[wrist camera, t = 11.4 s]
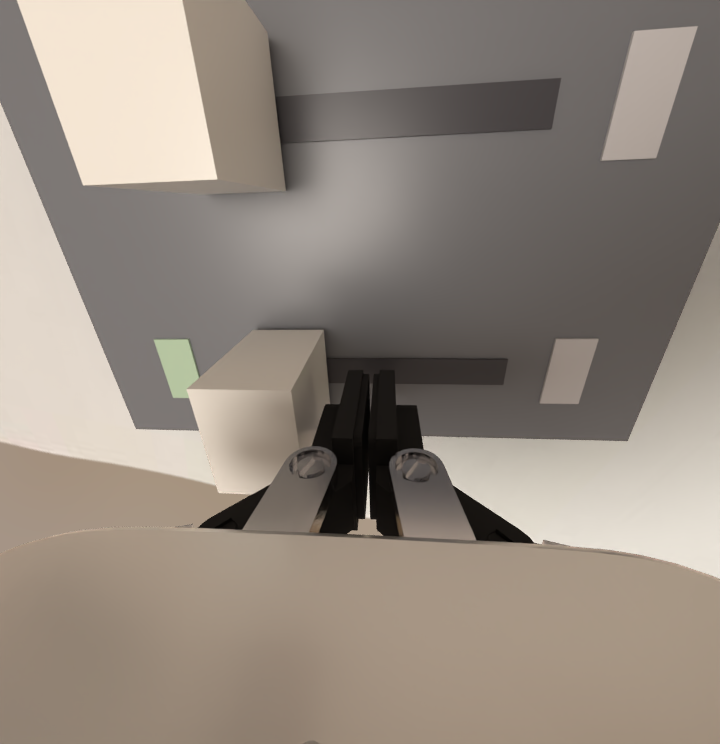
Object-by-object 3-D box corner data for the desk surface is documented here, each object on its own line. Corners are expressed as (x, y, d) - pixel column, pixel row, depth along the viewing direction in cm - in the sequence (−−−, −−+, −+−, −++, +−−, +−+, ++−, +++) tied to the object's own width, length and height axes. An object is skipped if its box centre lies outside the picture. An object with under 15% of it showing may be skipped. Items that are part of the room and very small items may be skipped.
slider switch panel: (749, -28, 10) (859, -101, 8) (596, 410, 17) (628, 442, 15) (36, 34, 12) (-48, -7, 10) (165, 403, 19) (134, 430, 17)
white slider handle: (323, 329, 13) (291, 390, 9) (330, 411, 15) (306, 496, 11) (252, 329, 14) (186, 389, 9) (267, 410, 15) (218, 492, 11)
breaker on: (267, 32, 9) (157, -128, 5) (285, 191, 11) (217, 179, 7) (169, 41, 10) (-21, -105, 5) (202, 194, 11) (82, 185, 7)
